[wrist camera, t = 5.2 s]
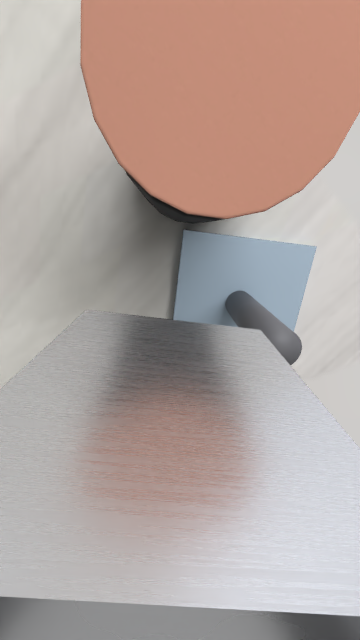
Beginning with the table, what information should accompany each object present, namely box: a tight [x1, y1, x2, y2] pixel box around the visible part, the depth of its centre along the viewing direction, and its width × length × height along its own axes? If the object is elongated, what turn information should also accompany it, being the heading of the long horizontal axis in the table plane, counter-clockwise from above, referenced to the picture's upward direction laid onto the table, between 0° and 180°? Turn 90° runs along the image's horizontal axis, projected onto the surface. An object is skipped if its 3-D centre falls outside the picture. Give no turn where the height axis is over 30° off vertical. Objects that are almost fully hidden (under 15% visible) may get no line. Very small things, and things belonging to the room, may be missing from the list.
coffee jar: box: [81, 0, 360, 223], centre depth 18 cm, size 11×11×18 cm
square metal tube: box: [0, 310, 360, 640], centre depth 9 cm, size 8×8×10 cm
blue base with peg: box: [173, 230, 316, 365], centre depth 25 cm, size 14×14×13 cm
